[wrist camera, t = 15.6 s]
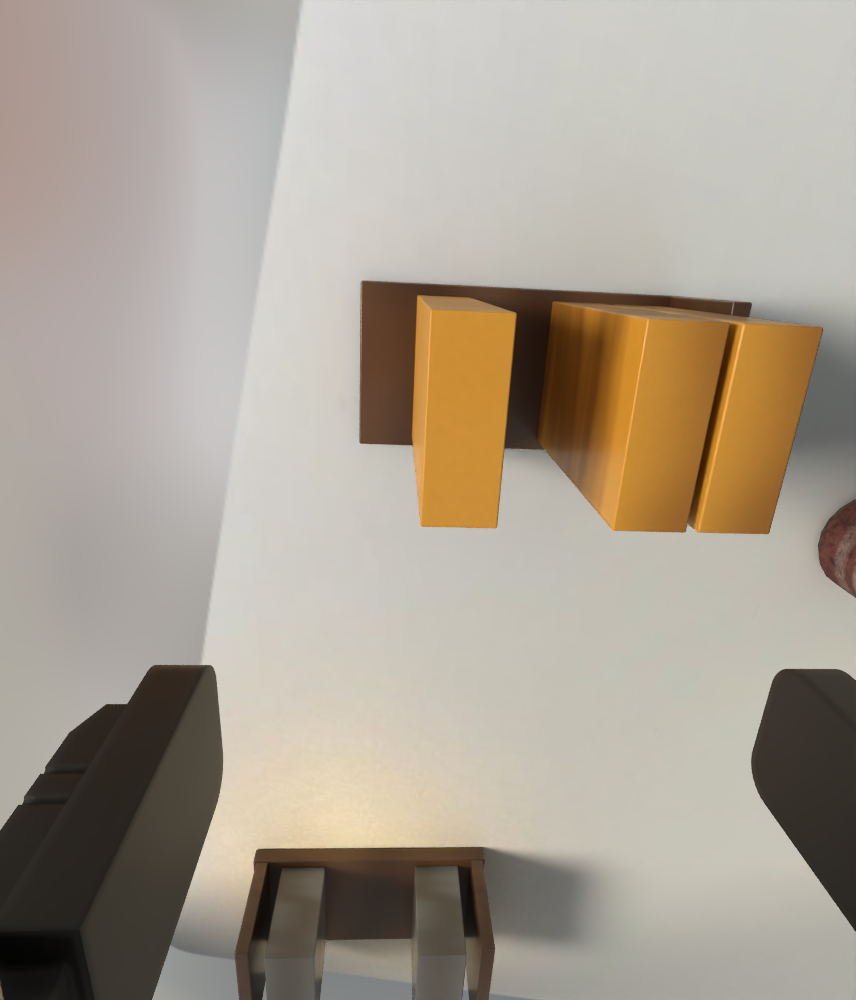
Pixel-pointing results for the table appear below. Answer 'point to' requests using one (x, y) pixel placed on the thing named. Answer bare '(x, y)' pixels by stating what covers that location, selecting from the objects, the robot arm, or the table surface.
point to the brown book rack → (366, 918)
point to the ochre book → (460, 409)
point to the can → (840, 548)
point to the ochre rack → (623, 397)
